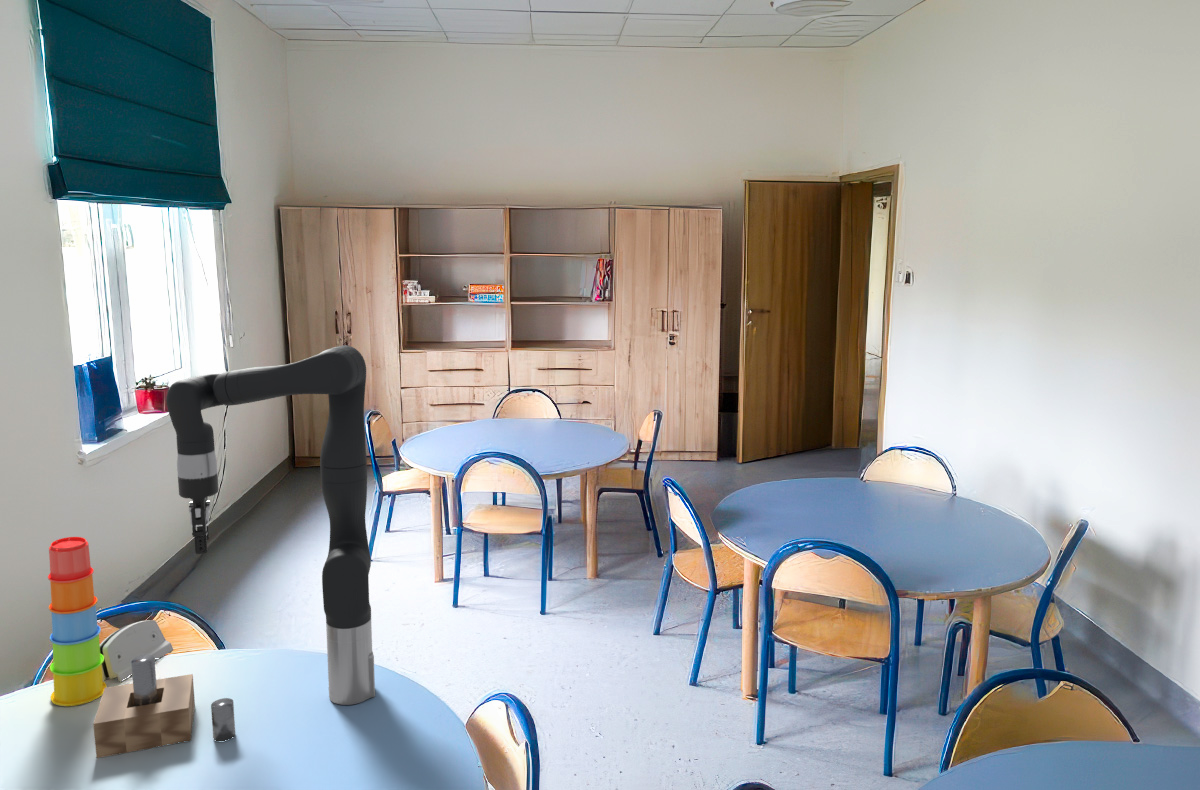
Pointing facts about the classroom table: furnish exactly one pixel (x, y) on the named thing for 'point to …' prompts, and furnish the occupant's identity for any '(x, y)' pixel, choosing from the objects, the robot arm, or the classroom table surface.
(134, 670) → the long pin
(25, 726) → the classroom table surface
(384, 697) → the classroom table surface
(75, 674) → the stacking cups
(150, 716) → the bore block
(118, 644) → the grey curved housing
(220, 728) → the short pin
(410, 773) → the classroom table surface
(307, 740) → the classroom table surface
